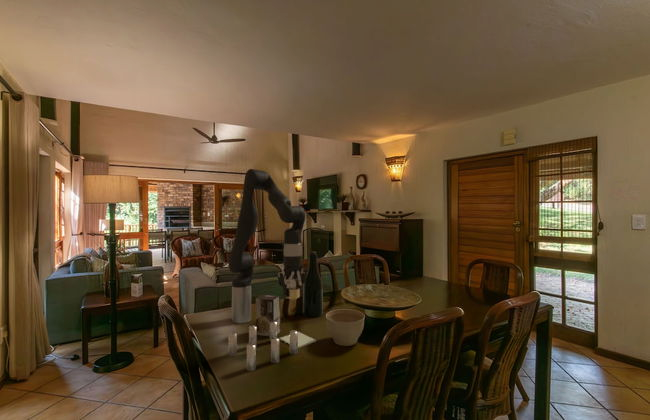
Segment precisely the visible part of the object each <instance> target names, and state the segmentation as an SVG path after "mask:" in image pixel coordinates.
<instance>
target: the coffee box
mask: <svg viewBox="0 0 650 420" xmlns="http://www.w3.org/2000/svg"><path fill="white" fill-rule="evenodd" d="M271 321H277V335H278V334H279V333H281V295H272V294H271V295H269V294H261V295H260V296H258V297H256V298H255V326H257V336H266V337H270V322H271Z"/></svg>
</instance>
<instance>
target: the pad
mask: <svg viewBox="0 0 650 420" xmlns="http://www.w3.org/2000/svg"><path fill="white" fill-rule="evenodd" d="M279 341H281V342H283V341H284V342H283V343H285V344H287V343H288V345H289V346H290V334H288V335H285V336H281V337H279ZM316 342H317V339H315V338H312V337H310V336H308V335H306V334H304V333H302V332H300V331H298V349H300V348H303V347H305V346H308V345H311V344H313V343H316Z"/></svg>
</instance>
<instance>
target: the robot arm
mask: <svg viewBox="0 0 650 420" xmlns="http://www.w3.org/2000/svg"><path fill="white" fill-rule="evenodd" d="M243 179H244V180H243V188H242V199H241V205H240V210H239V215H238V219H237V225H236V231H235V236H234V240H233V243H232V248H231V250H230V254H229V258H228V269H229V271H230V272H231V273H233V274H238V275H237V276H236V277H235V278H233V279H232V280H231V281H232V282H231V322H232V323H234V324H245V323H249V322H250V321H251V320H252V280H253V277H254V259H253V258H254V257H253V256H252V254H251V253H249V252H245V248H246V246H247V245H248V243H249V241H250V240H251V239H252V238H253V236H254V235H255V233H256V231H257V228H258V222H259V213H258V210H257V206H256V205H255V201H254V191H255V190H258V191H259V190H260V191H262V190H263V191H265V192H266V193H267V198H268V202H269V203H270V205H272V206H273V207H274V209H275V210H276V211H277V214H278V217H279V219H280V220H281V221H282V222H283V223H286V224H292V225H291V227H290V228H288V229H284V230H285V231H284V233H283V235H284V236H283V237H284V239H283V241H284V243H283V244H284V246H283V270H282V271H280V272H279V271H277V273H276V275H277V280H278V281H277V282H278V285H279V287H282V288H283V296H285V298H286V297H289V287H290V285H291V283H292V281H293V280H294V281H295V287H297V288H300V294H301V293H302V285H304V283H305V281H306V276H307V272H308V269H307V268H303V267H302V265H303V247H302V232H303V229H304V225H305V222H306V211H305V209H304V208H303V206H300V205H292V202H291V200H290V199H289V198H288V196H287V195H286V194H285V193H283V192H282V190H281V189H280V188H279V187H278V186H277V184H276V183H275V180H274V179H273V178H272V177H271V175H270V174H269V173H268V171H264V170H261V169H259V170H258V169H253V168H249V169H248V170H247V171H246V173H245V175H244V178H243Z"/></svg>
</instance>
